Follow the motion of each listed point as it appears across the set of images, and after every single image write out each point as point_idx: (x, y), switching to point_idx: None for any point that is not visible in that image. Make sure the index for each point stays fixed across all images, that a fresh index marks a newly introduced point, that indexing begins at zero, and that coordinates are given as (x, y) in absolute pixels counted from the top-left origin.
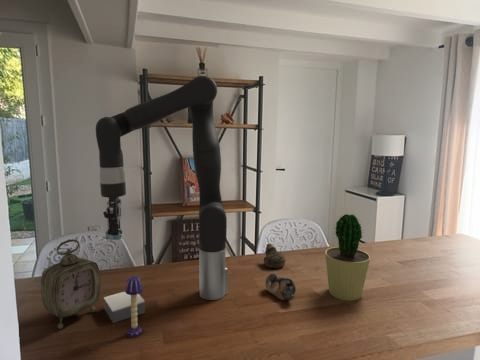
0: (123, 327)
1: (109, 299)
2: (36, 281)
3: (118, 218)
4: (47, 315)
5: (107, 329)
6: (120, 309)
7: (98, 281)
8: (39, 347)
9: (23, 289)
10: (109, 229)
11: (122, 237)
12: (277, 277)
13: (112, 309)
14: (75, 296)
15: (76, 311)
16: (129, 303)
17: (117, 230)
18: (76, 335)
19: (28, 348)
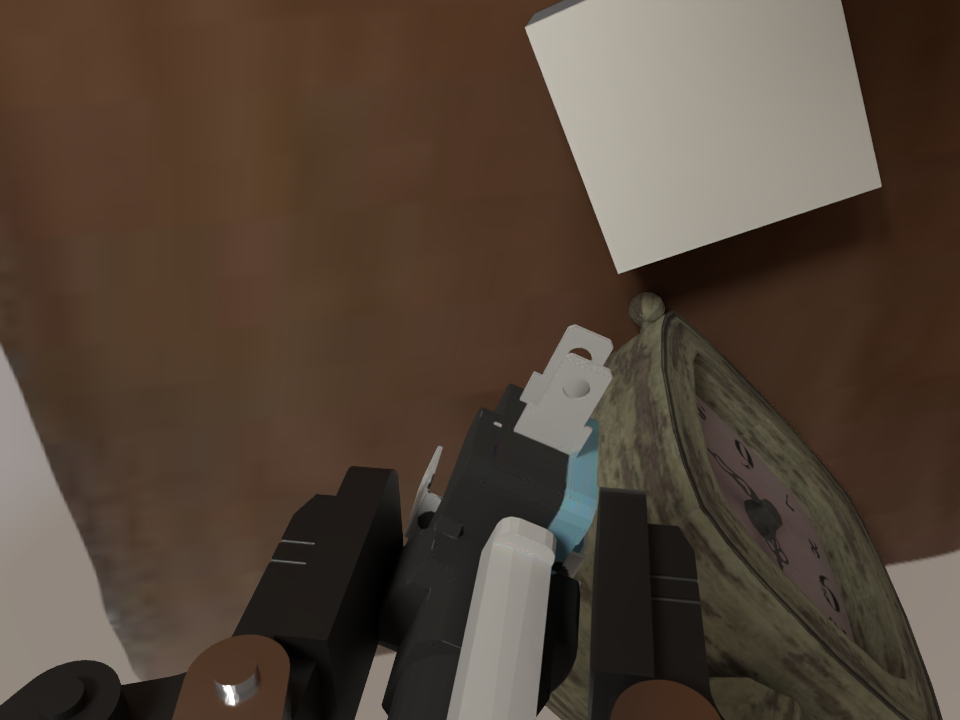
0: (953, 72)
1: (672, 227)
2: (176, 630)
3: (294, 710)
4: None
5: (924, 185)
6: (864, 123)
7: (674, 377)
8: (940, 508)
9: None
10: (553, 687)
11: (573, 380)
12: None
13: (860, 188)
14: (753, 482)
15: (780, 420)
16: (809, 52)
17: (643, 565)
18: (906, 359)
19: (922, 549)
